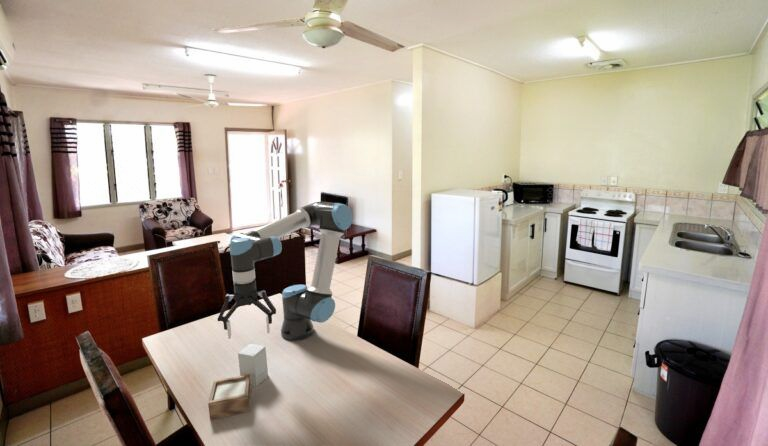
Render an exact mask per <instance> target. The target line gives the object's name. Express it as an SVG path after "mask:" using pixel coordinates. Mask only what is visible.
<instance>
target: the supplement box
mask: <svg viewBox="0 0 768 446" xmlns="http://www.w3.org/2000/svg"><path fill="white" fill-rule="evenodd" d="M266 347H267V346H265V345H260V344H254V343H250V344H249V343H248V345H246V346H245V347H244V348H242V349H241V350H240V351H239V352H238V353H237V356H238V357H237V359H238V367H239V368H238V369H239V376H243V375H249V374H250V383H251V387H252V386H253V387H258V386H260V384H261V383H262V382H263V381H264V380H266V378H267V377H268V376H269V371H268V358H267V349H266Z"/></svg>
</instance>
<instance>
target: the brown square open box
mask: <svg viewBox="0 0 768 446" xmlns="http://www.w3.org/2000/svg"><path fill="white" fill-rule="evenodd" d="M251 393H252V385H251V383H250V374H249V375H243V376H240V375H239V376H233V377H228V378H221V379H216V380H213V382H212V385H211V389H210V394H209V399H208V402H207V405H208V412H209V413H208V414H209V420H216V419H220V418H225V417H230V416H234V415H241V414H245V413H250V407H251V397H252V396H251Z"/></svg>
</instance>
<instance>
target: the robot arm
mask: <svg viewBox="0 0 768 446" xmlns="http://www.w3.org/2000/svg"><path fill="white" fill-rule="evenodd" d="M352 222H353V213H352V211H351V209H350V207H349V206H348V205H347V204H344V203H341V202H329V201H316V202H311V203H310V204H306V205H304V206H302V207H300V208H297V209H296V210H295V212H292V213H291V214H288V215H286V216H283V217H282V218H279V219H277V220H274V221H272V222H270V223H267V224H264V225H262V226H259V227H257V228H255V229H252V230H251V231H248V232H245V233H244V232H238V233H235V234H233V235H232V236H231V239H230V241H229V242H230V243H229V254H230V261H231V262H230V263H231V268H232V269H231V270H232V271H231V272H232V281H233V292H234V293H233V294H229V293H226V295H225V298H224V304H223V305H222V308H221V310H220V313H219V314H218V317H217V319H216V320H217V322H223V329H224V330H225V331H226V330H227V339H228V340H229V339H230V340H231V338H232V328H231V319H230V317H232V315H233V314H234V312H235V311H236V310H237V309H238V307H239V306H241V307H245V306H251V305H254V306H255V307H257V308H258V309H259V310H261V311H262V312H263V313H264V314H265V315H266V317H265V318H266V319H265V321H266V333H267V334H270V332H271V331H270V325H271V324H272V323H273V317H272V316H273V315H276V314H277V309H276V307H275V305H274V304H273V303H272V301H271V300H270V298H269V296H268V295H267V292H266V290H265V289H262V290H261V291H257V281H256V271H255V270H256V268H255V263H256V262H260V261H262V260H266V259H269V258H274V257H276V256H278V255H279V254H281V253H282V250H283V246H282V241H281V240H280V238H283V237H284V236H287V235H290V234H291V233H294V232H296V231H298V230H300V229H301V228H304V229H306V228H309V227H312V226H319V228H318V230H319V232H320V233H321V235H320V239H319V244H318V249H317V254H316V259H315V264H314V269H313V274H312V279H311V285H310V286H307V285H306V284H293V285H290V286H288V287H286V288H284V289H283V290H282V292H281V293H282V295H281V296H282V297H281V298H282V310H283V322H282V325H281V329H280V336H281V337H282V338H283V339H285V340H287V341H301V340H304V339H306V338H309V337H310V336H311V335H313V333H314V325H313V322H316V323H320V324H321V323H322V324H323V323H325V322H327V321H329V319H331V317H332V316H333V314H334V312H335V309H336V302H335V300H334V299H333V298H332V297H333V291H332V290H331V284H332V280H333V275H334V269H335V266H336V265H335V264H336V259H337V255H338V248H339V244H340V239H341V237H342V236H344V235H345V231H347V230H348V229H349V228H350V227H351V225H352ZM258 296H259V297H260V298H262V300H263V301H264V302H265V304H266V305H267V306H266V305H264V304H263V303H262V302H261V301H260V300H259V299H258ZM232 299H233V300H234V301H235V303H234V304H233V305H232V306H231V308H230V309H229V310H228V311H227V313H226V314H225V312H226V310H227V307H228V306H229V303H230V302H232Z"/></svg>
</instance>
